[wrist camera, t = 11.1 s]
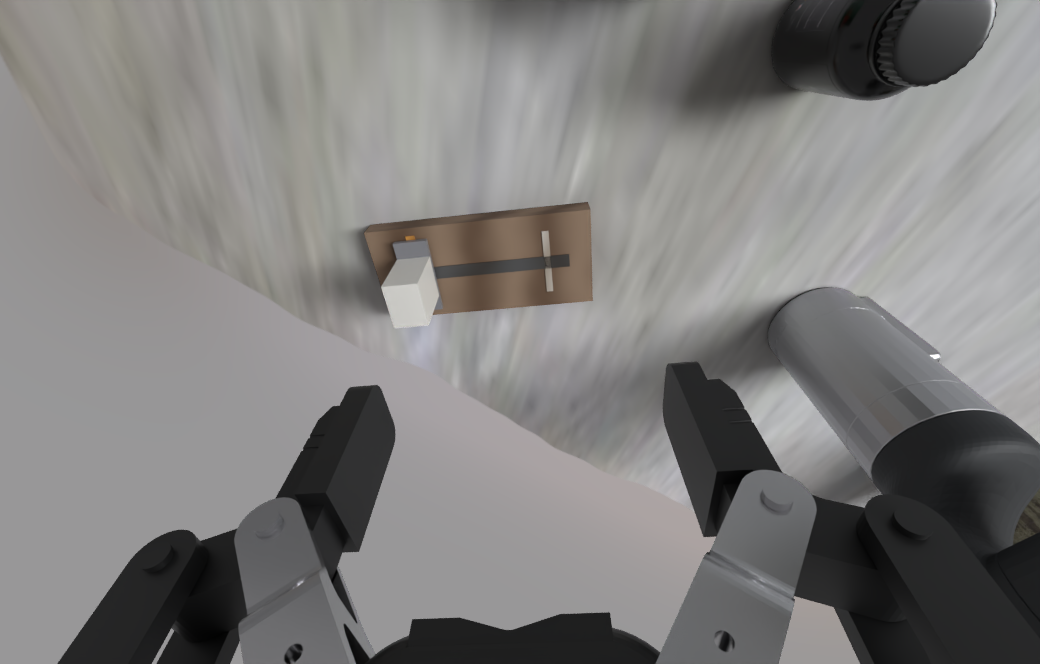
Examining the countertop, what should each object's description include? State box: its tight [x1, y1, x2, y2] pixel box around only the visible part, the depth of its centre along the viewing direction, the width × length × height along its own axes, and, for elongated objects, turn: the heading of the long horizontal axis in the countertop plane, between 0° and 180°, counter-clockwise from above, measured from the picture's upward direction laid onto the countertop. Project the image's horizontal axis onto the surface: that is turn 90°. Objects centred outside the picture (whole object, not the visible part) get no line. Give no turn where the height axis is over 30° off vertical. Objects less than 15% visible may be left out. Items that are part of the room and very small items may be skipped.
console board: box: [364, 202, 593, 315], centre depth 42 cm, size 20×9×2 cm, turn 96°
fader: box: [381, 239, 443, 328], centre depth 39 cm, size 3×7×6 cm, turn 6°
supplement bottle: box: [772, 0, 997, 101], centre depth 28 cm, size 7×7×12 cm
